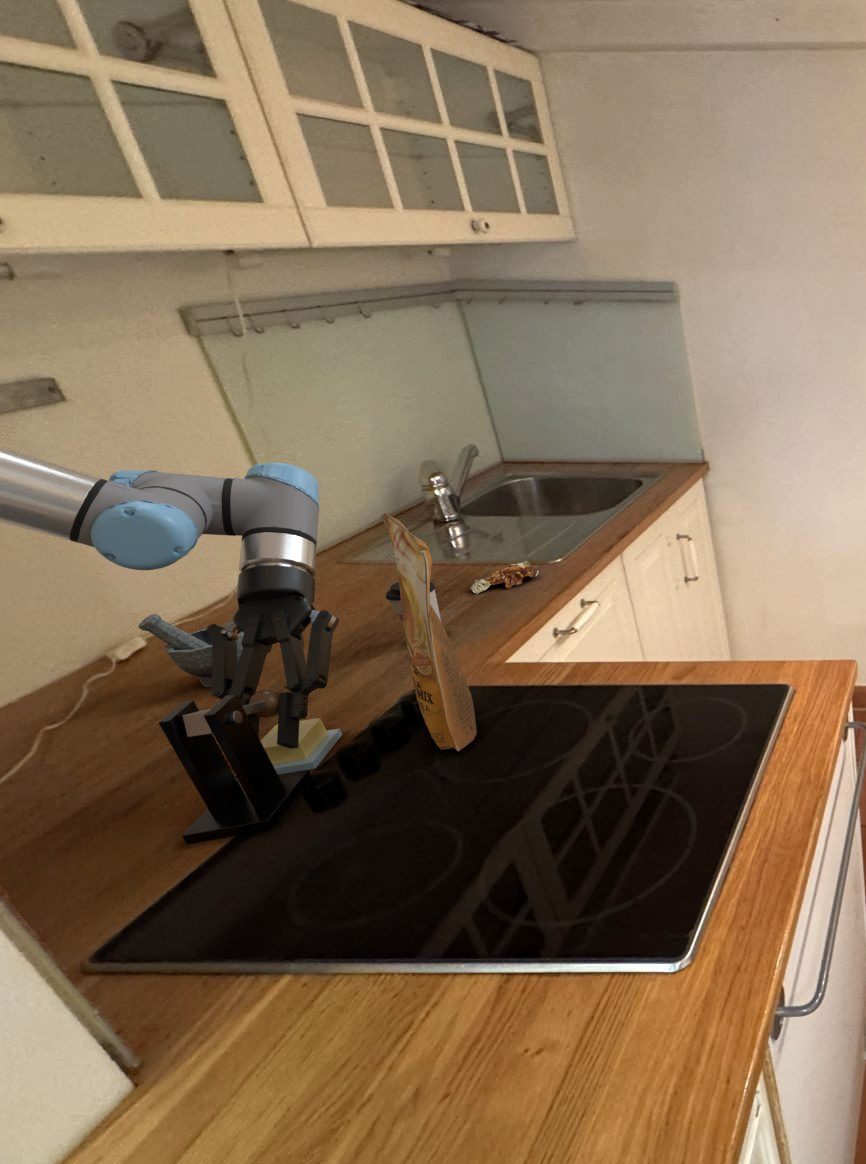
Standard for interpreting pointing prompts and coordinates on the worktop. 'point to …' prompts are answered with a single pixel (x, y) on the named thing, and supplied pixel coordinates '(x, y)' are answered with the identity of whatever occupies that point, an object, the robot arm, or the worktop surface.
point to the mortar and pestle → (187, 647)
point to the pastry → (506, 576)
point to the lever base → (227, 799)
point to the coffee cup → (395, 600)
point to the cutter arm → (259, 705)
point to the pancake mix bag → (430, 646)
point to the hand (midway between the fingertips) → (267, 748)
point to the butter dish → (313, 757)
